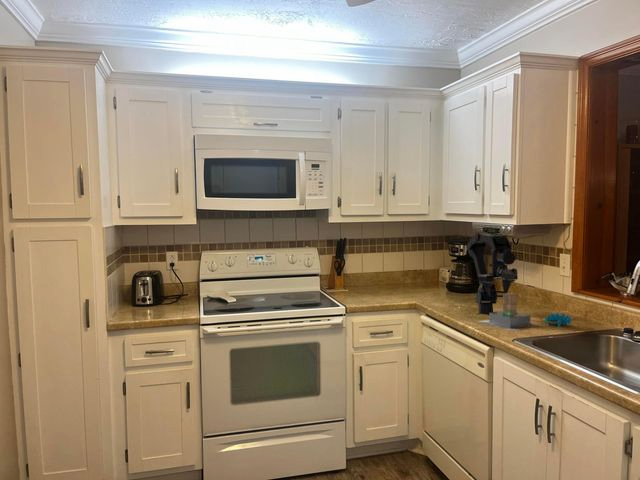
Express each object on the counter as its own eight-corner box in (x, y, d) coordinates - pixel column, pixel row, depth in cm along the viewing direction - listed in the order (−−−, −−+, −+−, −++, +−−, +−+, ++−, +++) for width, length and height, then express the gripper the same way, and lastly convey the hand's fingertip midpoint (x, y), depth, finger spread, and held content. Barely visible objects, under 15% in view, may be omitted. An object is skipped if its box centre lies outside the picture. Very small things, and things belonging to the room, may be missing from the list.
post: (502, 314, 214) (502, 293, 213) (509, 313, 216) (509, 292, 215) (509, 316, 210) (510, 295, 210) (516, 315, 212) (517, 294, 211)
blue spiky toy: (572, 323, 210) (569, 310, 204) (573, 335, 207) (570, 322, 201) (545, 324, 216) (541, 311, 210) (545, 335, 212) (542, 323, 206)
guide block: (489, 322, 216) (489, 312, 216) (509, 319, 221) (509, 309, 221) (509, 328, 205) (510, 317, 205) (530, 325, 210) (530, 314, 210)
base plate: (477, 323, 219) (477, 321, 219) (507, 319, 226) (507, 317, 226) (511, 334, 201) (511, 331, 200) (542, 329, 208) (542, 326, 208)
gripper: (495, 265, 209) (494, 300, 210) (527, 262, 217) (526, 296, 218) (477, 262, 220) (477, 296, 221) (508, 260, 227) (508, 292, 228)
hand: (497, 295), depth 221 cm, fingers open, 9 cm apart
